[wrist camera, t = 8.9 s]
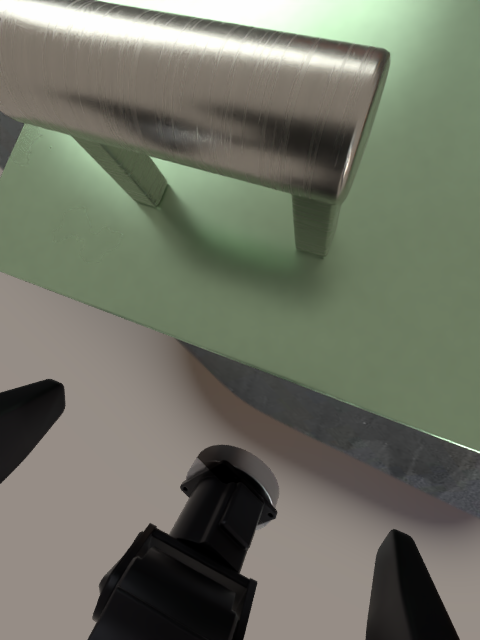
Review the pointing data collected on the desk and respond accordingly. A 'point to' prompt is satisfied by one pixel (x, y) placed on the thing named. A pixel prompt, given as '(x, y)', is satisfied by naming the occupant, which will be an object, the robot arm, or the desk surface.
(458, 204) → the machine lid
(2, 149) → the desk surface
